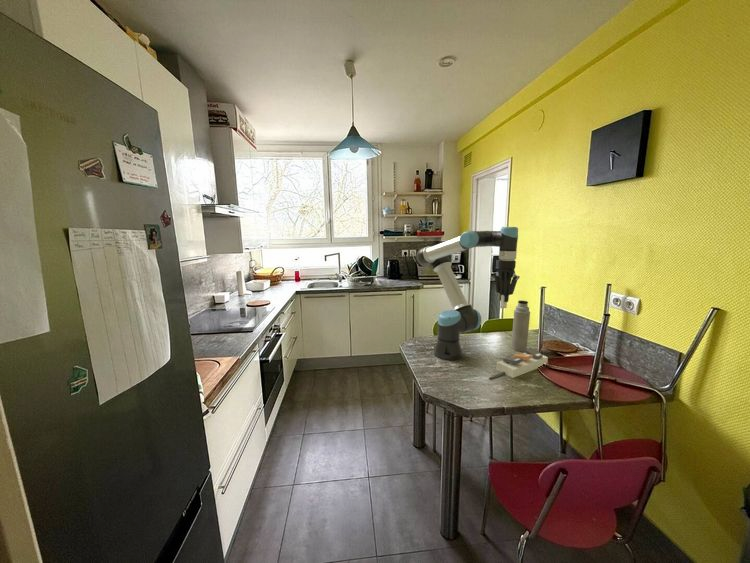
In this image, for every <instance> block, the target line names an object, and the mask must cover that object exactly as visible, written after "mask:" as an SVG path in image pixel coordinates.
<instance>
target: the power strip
mask: <svg viewBox="0 0 750 563" xmlns="http://www.w3.org/2000/svg"><path fill="white" fill-rule="evenodd" d="M522 354H527V353H525V352H522ZM542 355H543V356H542V358H539V359H535V358H531V359H528V360H523V362H521V363H518V364H513V363H508V362H503V359H501V360H500V361H496V368H495V369H496V371H498V372H500V373H497V374H493V375H491V376H489V377H488V379H489V380H492V379H494V378H497V377H500V376H503V375H506V376H508V377H510V378H512V379H514V378H516V377H518V376H521V375H523V374H527V373H530V372H532V371H534V370H535V371H536V370H537V369H539V368H538V367H540V366H542V365H543V364H544V363H547V364H548V361H549V360H548V359H549V357H548V356H546V355H545V354H542ZM542 367H543V366H542ZM540 368H541V367H540Z"/></svg>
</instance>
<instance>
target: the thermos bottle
mask: <svg viewBox="0 0 750 563" xmlns="http://www.w3.org/2000/svg"><path fill="white" fill-rule="evenodd" d="M528 304H529V301H527V300H518V301H517V305H516V306H515V309H514V310H513V311H514V312H513V320H512V321H513V322H512V330H511V331H512V334H511V343H510V344H511V346H510V348H511V349H512V350H513V351H516V352H520V351H521V352H522V353H525V352H524V349H527V348H528V340H529V339H528V338H529V326H530V320H531V319H530V318H531V311H530V307H529V306H528ZM521 352H520V353H521Z"/></svg>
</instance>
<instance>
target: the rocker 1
mask: <svg viewBox="0 0 750 563" xmlns="http://www.w3.org/2000/svg"><path fill="white" fill-rule="evenodd" d="M502 360H503V362H508V363H513V364H518V363H521V362H523V359H521V358H516V357H513V356H507V357H503V358H502Z"/></svg>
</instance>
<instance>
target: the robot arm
mask: <svg viewBox="0 0 750 563" xmlns="http://www.w3.org/2000/svg"><path fill="white" fill-rule="evenodd" d="M518 238H519V228H518V227H517V226H502V227H501V228H500V230H498V231H497V230H467V231H463V233H461V235H459V236H456V237H453V238H451V239H449V240H445V241H443V242H440V243H437V244H435V245H432V246H431V245H428V246H425V247H422V248H420V249H419V250H418V251H417V253H416V261H417V263H418V264H419V265H420V266H422V267H427V268H428V267H429V268H430V267H431V268H432V271H433V272H434V273H436V274H437V276H438V277H439V280H440V282H441V284H442V287H443V289H444V291H445V294H446V296H447V298H448V301H449V303H450V305H451V307H452V309H450V310H443V311H441V312H440V313H439V314H438V317H437V336H436V337H437V339H436V342H435V345H434V348H433V355H434V356H436V357H437V358H440V359H443V360H459V359H460V358H462V357H463V350H462V347H461V343H460V337H461V334H464V333H468V332H473V331H475V330H478V329H479V328H480V326H481V325H482V324H481V323H482V315H481V313H480V312H479V311H478V310H477V309H475V308H473V306H472V304H471V303H468V302H467V300H466V297H465V296H464V294H463V291H462V289H461V286H460V284H459V281H458V280H457V278H456V276H455V273H454V271H453V269H452V264H453V263H452V261H453V259H452V258H453V255H454V254H456V253H460V252H463V251H466V250H470V249H473V248H481V247H483V248H484V247H485V248H486V247H499V250H498V252H499V253H498V259H499V260H498V262H497V263H498V264H497V266H498V269H497V271H495V272H493V277H494V283H495V289H496V293H498V294H499V302H500V307H499V309H506V308H507V306H508V302H509V298H510V295H514V292H515V289H516V286H517V283H518V280H519V279H520V276H519V275H517V274H516V270H515V269H516V264H517V263H516V262H517V261H516V260H517V252H518V251H517V249H518V240H519V239H518Z"/></svg>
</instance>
